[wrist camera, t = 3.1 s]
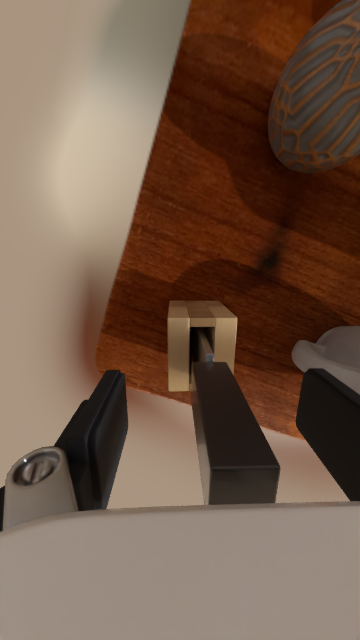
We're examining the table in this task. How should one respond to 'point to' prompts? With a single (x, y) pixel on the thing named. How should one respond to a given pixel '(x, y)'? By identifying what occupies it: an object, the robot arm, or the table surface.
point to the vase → (320, 95)
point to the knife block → (216, 328)
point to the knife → (228, 435)
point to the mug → (333, 354)
